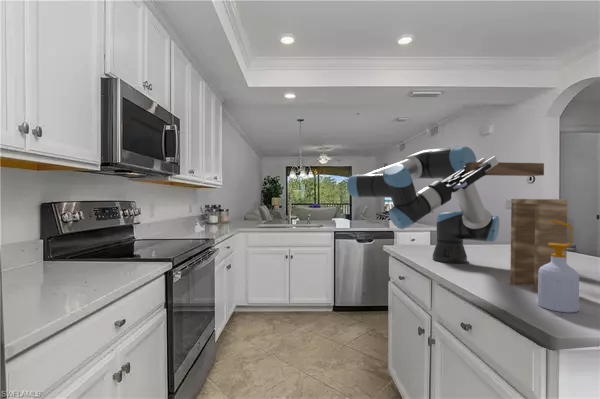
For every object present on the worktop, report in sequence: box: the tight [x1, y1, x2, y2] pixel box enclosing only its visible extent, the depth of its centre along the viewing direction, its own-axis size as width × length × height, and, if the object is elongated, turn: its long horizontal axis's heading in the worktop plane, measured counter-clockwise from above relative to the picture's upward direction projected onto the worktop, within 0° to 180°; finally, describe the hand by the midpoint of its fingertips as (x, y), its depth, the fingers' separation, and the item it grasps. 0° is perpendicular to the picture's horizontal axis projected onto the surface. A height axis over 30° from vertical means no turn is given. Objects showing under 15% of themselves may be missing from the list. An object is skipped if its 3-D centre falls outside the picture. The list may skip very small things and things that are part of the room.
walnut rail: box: [466, 161, 545, 177], centre depth 113 cm, size 4×26×4 cm, turn 100°
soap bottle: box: [537, 219, 580, 314], centre depth 95 cm, size 9×9×25 cm
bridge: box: [509, 198, 568, 293], centre depth 116 cm, size 12×10×30 cm
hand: (490, 160), depth 112 cm, fingers closed on walnut rail, 4 cm apart
